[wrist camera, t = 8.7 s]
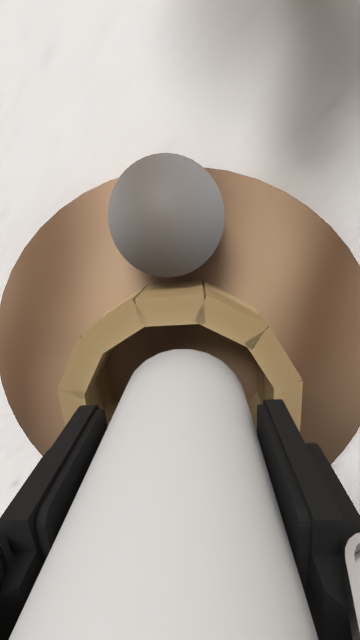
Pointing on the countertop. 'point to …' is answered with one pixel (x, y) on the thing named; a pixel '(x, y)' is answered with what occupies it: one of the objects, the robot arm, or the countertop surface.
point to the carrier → (184, 299)
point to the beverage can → (173, 523)
